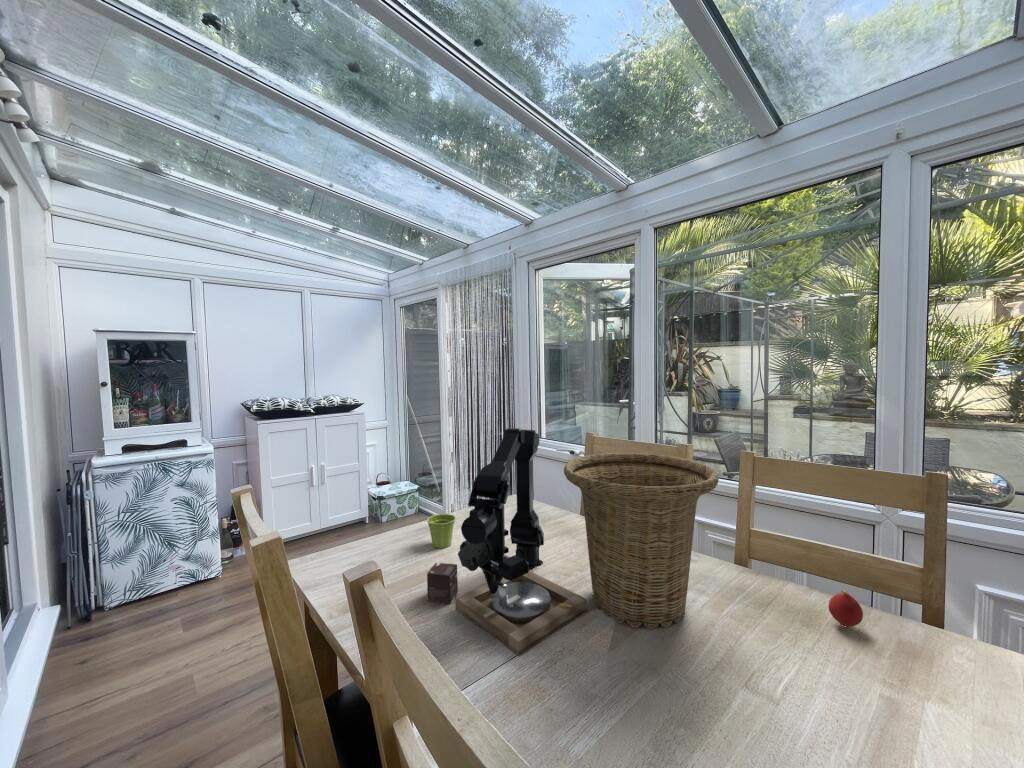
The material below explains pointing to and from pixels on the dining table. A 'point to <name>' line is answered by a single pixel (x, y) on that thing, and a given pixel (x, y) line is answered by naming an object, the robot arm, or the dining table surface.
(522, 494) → the robot arm
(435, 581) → the box
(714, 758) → the dining table surface
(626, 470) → the wicker basket
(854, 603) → the onion
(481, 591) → the square wooden tray
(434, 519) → the plant pot
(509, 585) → the grey metal bowl
